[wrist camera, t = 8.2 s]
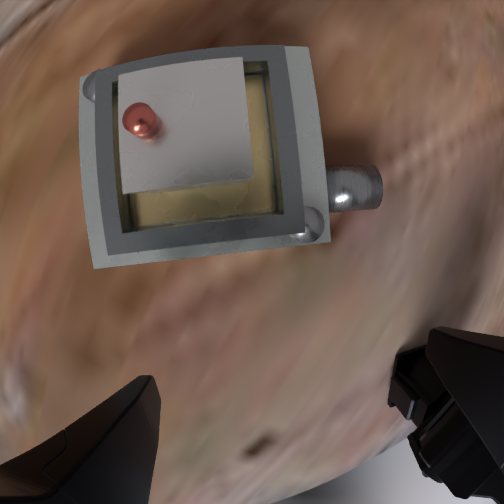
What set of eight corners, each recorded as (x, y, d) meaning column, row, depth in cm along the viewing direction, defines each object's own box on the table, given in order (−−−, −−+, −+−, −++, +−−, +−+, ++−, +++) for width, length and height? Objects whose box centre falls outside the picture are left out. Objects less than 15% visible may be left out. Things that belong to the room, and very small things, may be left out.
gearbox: (344, 72, 19) (380, 40, 13) (361, 227, 21) (406, 240, 15) (102, 94, 17) (66, 66, 11) (115, 255, 20) (79, 278, 14)
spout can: (235, 103, 15) (244, 41, 8) (242, 183, 16) (257, 175, 8) (153, 113, 14) (107, 62, 7) (159, 193, 15) (110, 194, 8)
